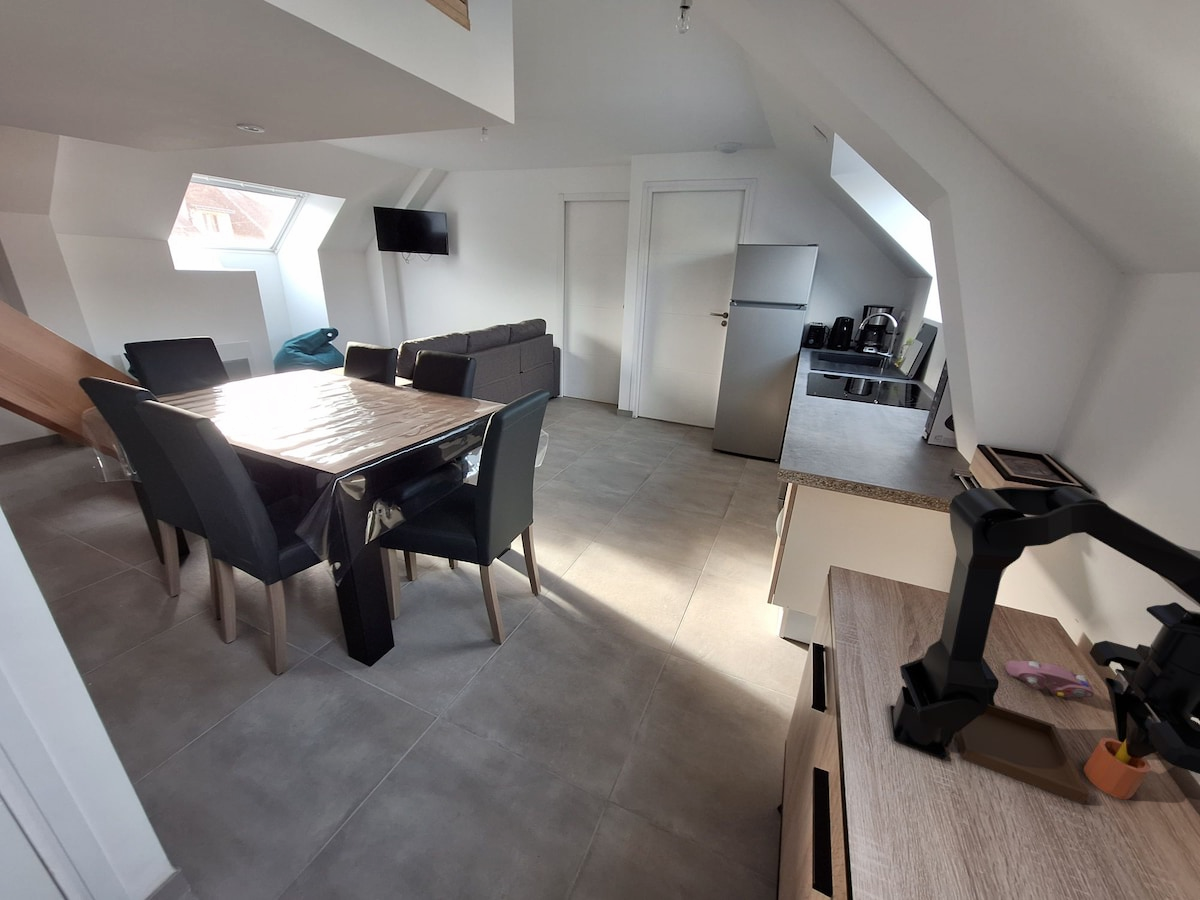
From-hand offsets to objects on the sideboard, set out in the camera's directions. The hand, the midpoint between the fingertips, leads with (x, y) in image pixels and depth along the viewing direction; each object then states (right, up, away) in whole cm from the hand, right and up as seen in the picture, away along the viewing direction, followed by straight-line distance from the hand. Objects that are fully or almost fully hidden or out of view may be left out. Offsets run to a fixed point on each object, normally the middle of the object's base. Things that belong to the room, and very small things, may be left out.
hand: (1127, 749), depth 60 cm
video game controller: (+5, -1, +17) cm, 17 cm away
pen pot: (0, -6, +2) cm, 6 cm away
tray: (-10, -4, +7) cm, 13 cm away
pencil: (0, -6, +2) cm, 6 cm away
